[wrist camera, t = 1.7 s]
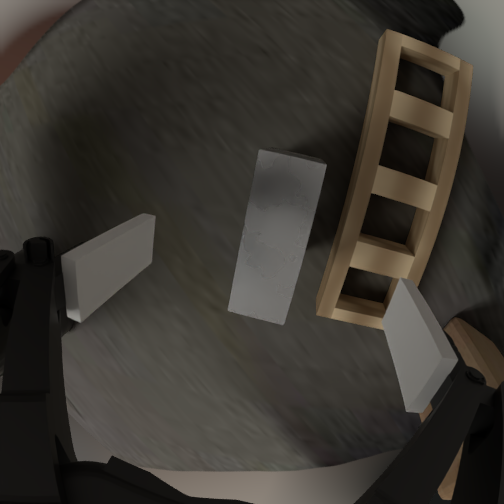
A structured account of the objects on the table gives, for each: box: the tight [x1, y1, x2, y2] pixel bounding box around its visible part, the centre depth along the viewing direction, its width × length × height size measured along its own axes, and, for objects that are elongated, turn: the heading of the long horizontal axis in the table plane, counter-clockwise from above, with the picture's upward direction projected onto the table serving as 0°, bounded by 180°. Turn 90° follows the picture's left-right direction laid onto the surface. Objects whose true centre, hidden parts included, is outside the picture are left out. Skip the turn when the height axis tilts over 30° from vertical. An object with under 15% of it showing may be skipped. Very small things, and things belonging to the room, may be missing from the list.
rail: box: [316, 29, 473, 330], centre depth 26 cm, size 9×28×4 cm, turn 169°
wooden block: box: [419, 317, 504, 500], centre depth 24 cm, size 10×10×20 cm
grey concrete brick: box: [228, 148, 327, 325], centre depth 25 cm, size 4×11×12 cm, turn 169°
